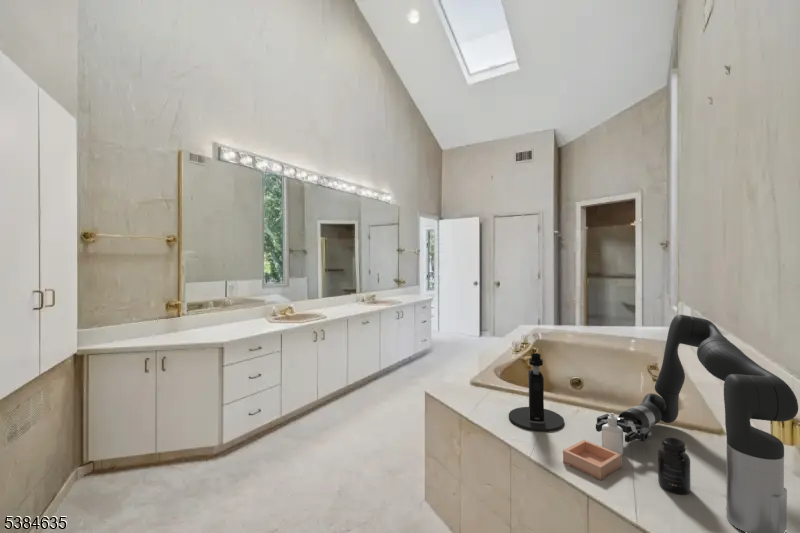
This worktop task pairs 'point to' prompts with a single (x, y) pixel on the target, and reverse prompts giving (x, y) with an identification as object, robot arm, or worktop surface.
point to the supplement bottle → (674, 466)
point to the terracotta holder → (592, 459)
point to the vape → (536, 404)
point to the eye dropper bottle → (612, 435)
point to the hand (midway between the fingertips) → (611, 433)
